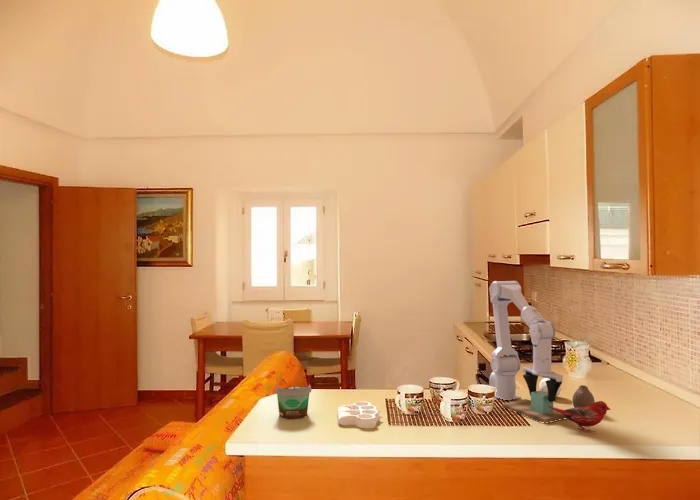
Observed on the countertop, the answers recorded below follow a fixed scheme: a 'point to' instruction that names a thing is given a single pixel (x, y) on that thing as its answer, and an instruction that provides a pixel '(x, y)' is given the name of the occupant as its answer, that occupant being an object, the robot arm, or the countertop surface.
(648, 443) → the countertop surface
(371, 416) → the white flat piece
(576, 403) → the vase
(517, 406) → the walnut base plate
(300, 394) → the food container
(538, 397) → the matte teal cube
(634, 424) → the countertop surface
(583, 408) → the decorative bird figurine
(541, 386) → the geometric ball
